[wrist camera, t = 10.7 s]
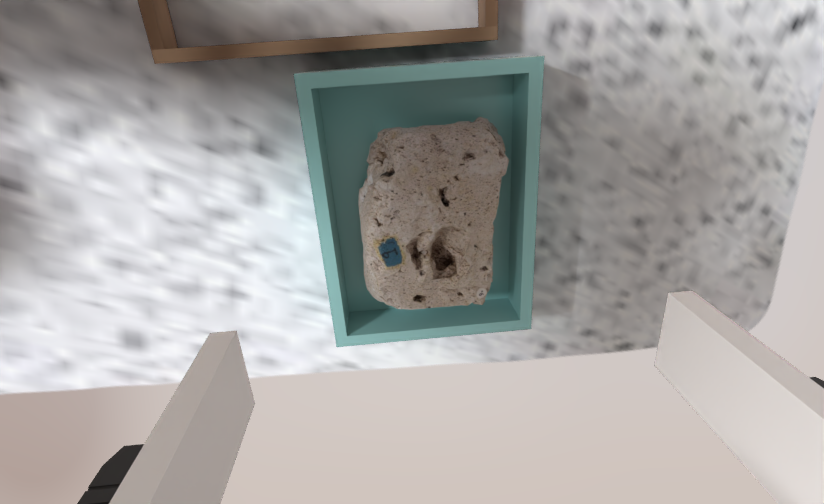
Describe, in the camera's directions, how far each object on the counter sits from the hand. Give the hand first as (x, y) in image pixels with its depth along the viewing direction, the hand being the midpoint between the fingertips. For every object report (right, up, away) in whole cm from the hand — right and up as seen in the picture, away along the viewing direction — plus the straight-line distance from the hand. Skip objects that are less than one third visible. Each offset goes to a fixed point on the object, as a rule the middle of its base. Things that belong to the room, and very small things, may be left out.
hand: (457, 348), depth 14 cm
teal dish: (-1, +7, +18) cm, 19 cm away
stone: (0, +6, +17) cm, 18 cm away
